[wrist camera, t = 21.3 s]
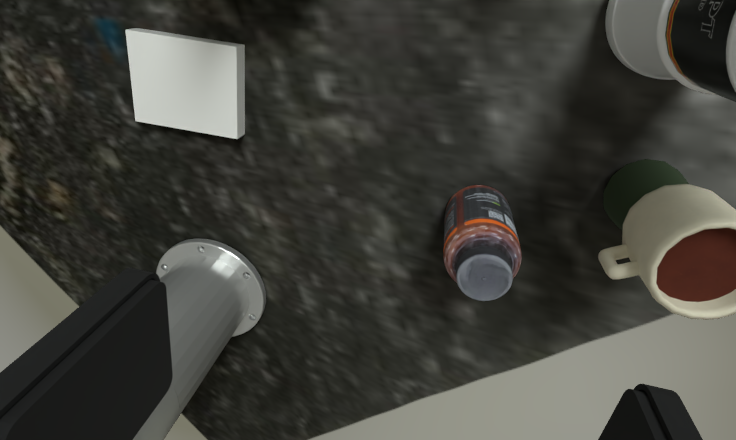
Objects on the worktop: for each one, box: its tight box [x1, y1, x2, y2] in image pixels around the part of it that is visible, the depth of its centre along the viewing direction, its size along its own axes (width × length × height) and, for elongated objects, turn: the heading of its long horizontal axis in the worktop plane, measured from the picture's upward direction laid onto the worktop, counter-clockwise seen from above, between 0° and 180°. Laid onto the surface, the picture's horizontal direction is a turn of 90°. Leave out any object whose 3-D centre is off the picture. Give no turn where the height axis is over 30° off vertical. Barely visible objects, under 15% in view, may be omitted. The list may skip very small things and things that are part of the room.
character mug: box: [598, 159, 736, 320], centre depth 34 cm, size 11×7×13 cm, turn 112°
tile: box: [126, 28, 245, 139], centre depth 42 cm, size 8×2×10 cm
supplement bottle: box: [443, 185, 522, 301], centre depth 38 cm, size 6×6×11 cm
